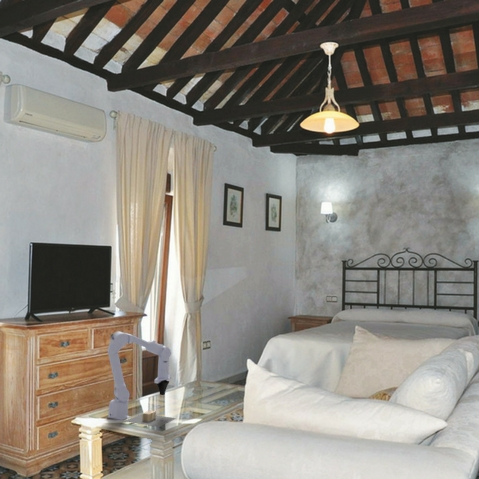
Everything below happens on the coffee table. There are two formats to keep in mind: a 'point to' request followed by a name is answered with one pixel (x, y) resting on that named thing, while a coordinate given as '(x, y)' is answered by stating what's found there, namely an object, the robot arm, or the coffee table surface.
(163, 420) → the mat
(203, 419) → the coffee table surface
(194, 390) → the coffee table surface
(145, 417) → the maple block
